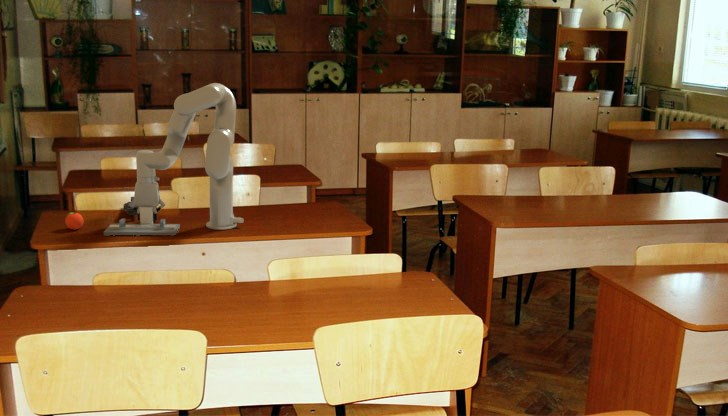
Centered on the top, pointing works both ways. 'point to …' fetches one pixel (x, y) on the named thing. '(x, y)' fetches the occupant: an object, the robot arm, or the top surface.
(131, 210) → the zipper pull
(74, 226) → the clementine
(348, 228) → the top surface
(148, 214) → the block
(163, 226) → the rail
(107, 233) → the board
